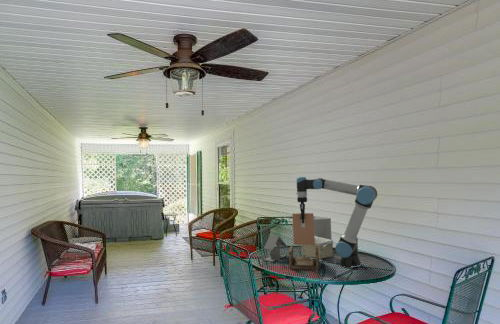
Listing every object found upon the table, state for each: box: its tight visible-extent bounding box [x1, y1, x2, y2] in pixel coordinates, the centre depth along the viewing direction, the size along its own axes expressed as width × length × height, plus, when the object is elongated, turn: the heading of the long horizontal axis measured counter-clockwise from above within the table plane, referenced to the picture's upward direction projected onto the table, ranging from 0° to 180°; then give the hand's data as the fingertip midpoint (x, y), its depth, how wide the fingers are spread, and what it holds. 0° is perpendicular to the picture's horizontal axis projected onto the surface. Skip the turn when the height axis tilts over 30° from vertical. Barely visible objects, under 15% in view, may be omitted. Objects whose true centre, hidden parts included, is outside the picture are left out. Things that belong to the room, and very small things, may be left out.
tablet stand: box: [263, 234, 287, 263], centre depth 275 cm, size 18×10×20 cm, turn 137°
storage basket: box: [301, 236, 334, 260], centre depth 279 cm, size 24×16×15 cm
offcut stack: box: [294, 256, 314, 266], centre depth 246 cm, size 6×14×7 cm, turn 78°
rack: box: [288, 245, 320, 270], centre depth 251 cm, size 18×21×14 cm
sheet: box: [292, 212, 315, 246], centre depth 256 cm, size 2×16×24 cm, turn 78°
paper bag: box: [313, 215, 333, 240], centre depth 304 cm, size 19×15×28 cm
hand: (303, 226), depth 256 cm, fingers closed on sheet, 2 cm apart
